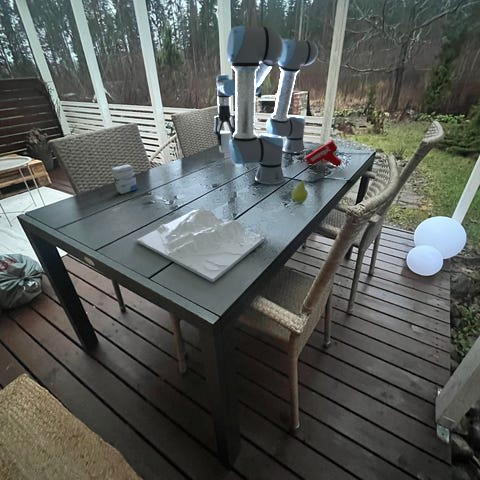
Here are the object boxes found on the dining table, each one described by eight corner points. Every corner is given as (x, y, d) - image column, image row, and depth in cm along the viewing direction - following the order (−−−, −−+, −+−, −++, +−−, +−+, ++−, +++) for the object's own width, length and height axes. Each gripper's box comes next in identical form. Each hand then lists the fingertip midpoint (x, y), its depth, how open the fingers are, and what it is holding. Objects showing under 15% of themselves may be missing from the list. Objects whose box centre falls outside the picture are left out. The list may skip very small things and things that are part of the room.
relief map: (212, 282, 77) (211, 268, 74) (137, 242, 94) (134, 229, 91) (264, 240, 95) (265, 227, 92) (193, 213, 113) (192, 201, 110)
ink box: (133, 186, 138) (127, 163, 132) (137, 189, 135) (132, 165, 129) (116, 191, 133) (110, 167, 127) (121, 194, 130) (114, 170, 124)
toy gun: (345, 161, 161) (332, 139, 157) (345, 163, 157) (332, 140, 153) (317, 176, 171) (305, 156, 167) (317, 178, 167) (304, 158, 163)
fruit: (288, 200, 123) (290, 174, 116) (302, 197, 125) (305, 172, 119) (296, 206, 118) (299, 179, 111) (310, 203, 120) (314, 177, 114)
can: (228, 149, 180) (227, 130, 173) (233, 152, 174) (233, 132, 167) (217, 150, 177) (216, 131, 170) (222, 153, 171) (222, 133, 164)
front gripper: (235, 103, 168) (236, 141, 180) (205, 105, 159) (208, 145, 171) (242, 104, 162) (242, 143, 175) (211, 106, 153) (213, 148, 166)
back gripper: (247, 63, 200) (246, 95, 212) (257, 62, 180) (256, 98, 191) (256, 63, 202) (256, 95, 213) (268, 62, 181) (266, 98, 193)
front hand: (225, 144), depth 173 cm, fingers closed on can, 8 cm apart
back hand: (256, 96), depth 202 cm, fingers open, 13 cm apart
